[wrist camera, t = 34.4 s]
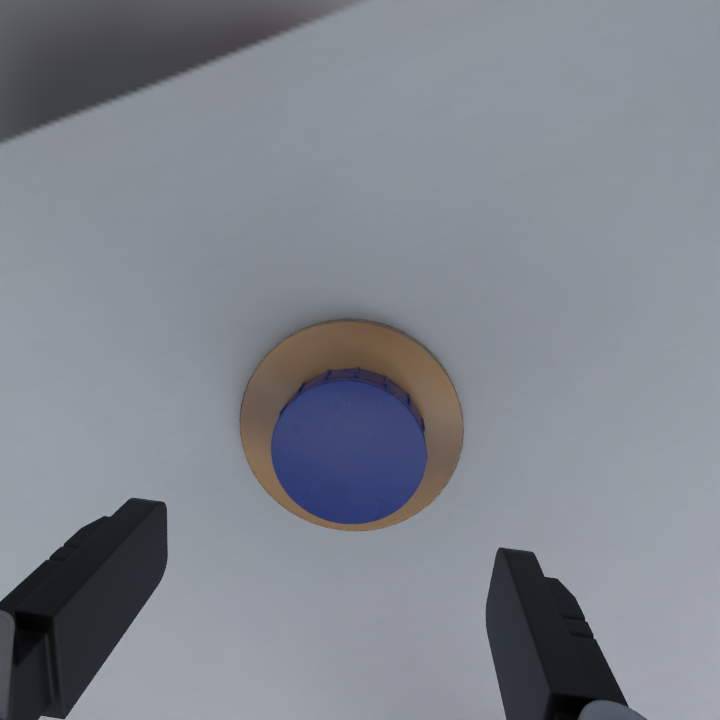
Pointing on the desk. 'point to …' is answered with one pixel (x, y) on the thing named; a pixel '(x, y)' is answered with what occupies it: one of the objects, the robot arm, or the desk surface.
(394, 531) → the desk surface
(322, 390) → the lid
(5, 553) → the desk surface
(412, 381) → the coaster
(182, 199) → the desk surface
